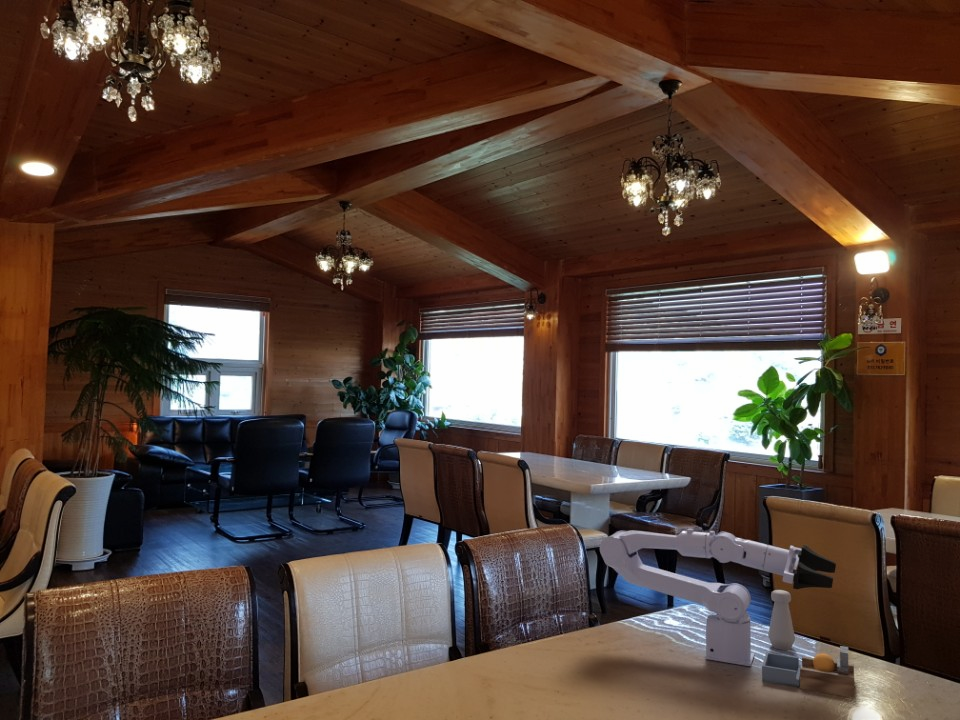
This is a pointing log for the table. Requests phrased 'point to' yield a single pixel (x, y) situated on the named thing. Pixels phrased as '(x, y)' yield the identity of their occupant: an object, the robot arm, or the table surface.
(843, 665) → the grey stepped block
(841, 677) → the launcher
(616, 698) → the table surface
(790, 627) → the salt shaker
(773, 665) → the blue-grey open tray
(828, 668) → the ball
